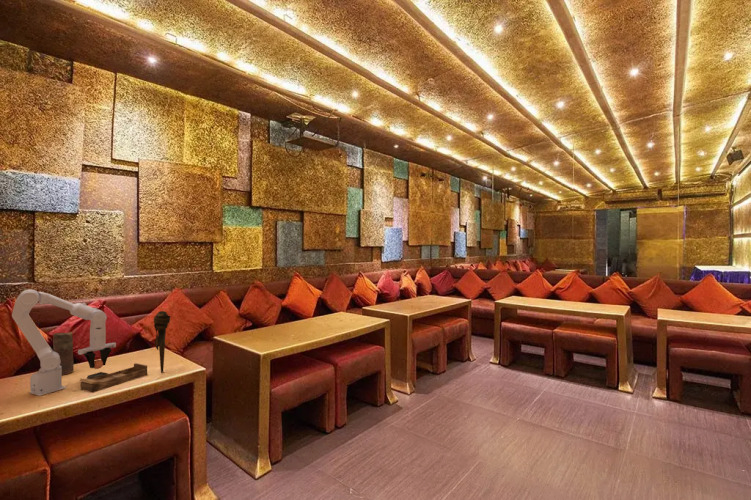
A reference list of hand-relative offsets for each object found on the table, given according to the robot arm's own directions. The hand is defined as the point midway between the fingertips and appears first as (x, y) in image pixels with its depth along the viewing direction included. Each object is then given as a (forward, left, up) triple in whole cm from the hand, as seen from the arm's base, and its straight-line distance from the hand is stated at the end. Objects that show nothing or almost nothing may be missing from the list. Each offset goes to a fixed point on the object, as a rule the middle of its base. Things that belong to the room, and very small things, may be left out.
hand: (97, 366), depth 164 cm
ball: (0, 0, +1) cm, 1 cm away
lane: (+2, -9, -7) cm, 11 cm away
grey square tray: (0, 0, -7) cm, 7 cm away
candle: (-1, +27, -7) cm, 28 cm away
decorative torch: (+19, -17, -7) cm, 27 cm away
